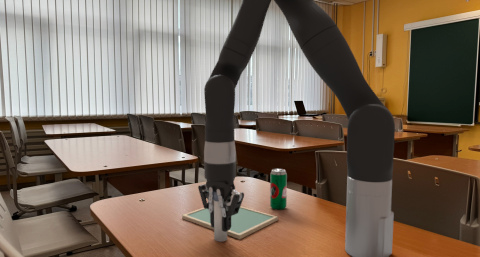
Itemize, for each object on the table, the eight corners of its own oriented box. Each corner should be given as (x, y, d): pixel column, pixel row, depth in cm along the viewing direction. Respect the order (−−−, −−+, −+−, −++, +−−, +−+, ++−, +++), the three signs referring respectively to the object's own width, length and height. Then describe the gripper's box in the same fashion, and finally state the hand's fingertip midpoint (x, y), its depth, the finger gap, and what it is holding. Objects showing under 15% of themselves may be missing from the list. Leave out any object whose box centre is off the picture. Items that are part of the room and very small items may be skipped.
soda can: (285, 211, 104) (286, 172, 102) (269, 209, 105) (269, 171, 103) (287, 205, 109) (287, 168, 107) (271, 204, 110) (271, 167, 108)
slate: (277, 220, 96) (277, 216, 96) (239, 239, 84) (239, 235, 84) (222, 204, 110) (222, 201, 110) (182, 218, 98) (182, 215, 98)
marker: (230, 238, 84) (230, 191, 83) (221, 243, 82) (220, 194, 81) (220, 234, 87) (220, 188, 85) (211, 239, 84) (210, 191, 83)
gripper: (252, 160, 80) (252, 231, 82) (210, 153, 90) (211, 217, 91) (231, 166, 75) (231, 241, 77) (188, 158, 84) (189, 225, 86)
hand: (220, 228), depth 84 cm, fingers closed on marker, 3 cm apart
